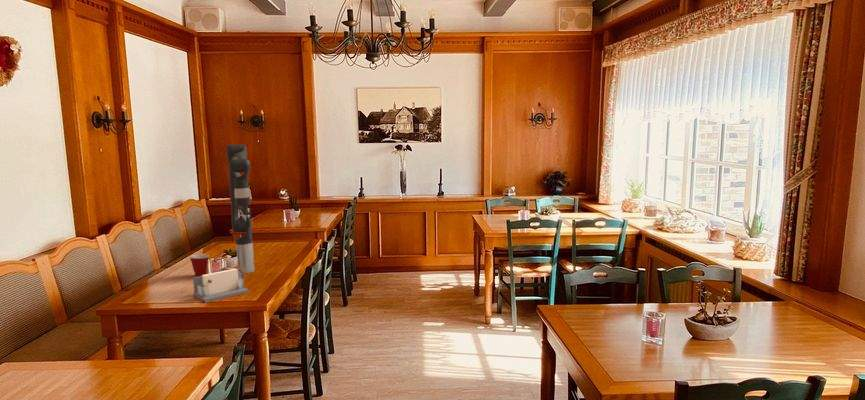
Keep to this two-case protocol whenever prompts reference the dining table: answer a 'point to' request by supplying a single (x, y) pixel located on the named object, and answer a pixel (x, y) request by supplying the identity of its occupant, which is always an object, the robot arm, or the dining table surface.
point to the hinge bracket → (205, 297)
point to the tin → (240, 271)
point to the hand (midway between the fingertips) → (244, 226)
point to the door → (221, 281)
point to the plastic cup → (199, 264)
